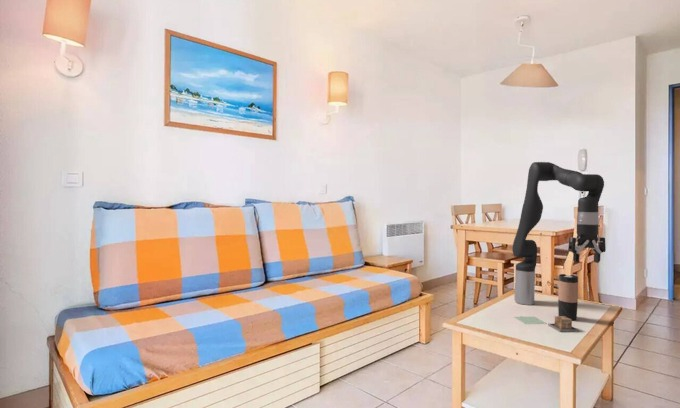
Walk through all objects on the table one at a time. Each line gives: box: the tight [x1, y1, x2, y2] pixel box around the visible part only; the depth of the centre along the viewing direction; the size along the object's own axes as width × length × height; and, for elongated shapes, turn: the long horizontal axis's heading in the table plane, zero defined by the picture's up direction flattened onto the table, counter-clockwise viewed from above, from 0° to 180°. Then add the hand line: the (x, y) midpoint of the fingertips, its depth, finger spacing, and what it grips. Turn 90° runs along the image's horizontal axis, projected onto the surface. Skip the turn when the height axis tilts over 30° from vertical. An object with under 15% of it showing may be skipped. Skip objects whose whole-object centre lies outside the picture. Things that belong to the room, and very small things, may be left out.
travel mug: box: [557, 273, 579, 322], centre depth 175 cm, size 8×8×20 cm
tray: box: [547, 322, 579, 333], centre depth 161 cm, size 8×8×1 cm
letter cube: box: [554, 315, 573, 330], centre depth 161 cm, size 5×4×5 cm
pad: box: [513, 316, 548, 325], centre depth 172 cm, size 10×10×1 cm
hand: (586, 262), depth 156 cm, fingers open, 8 cm apart
